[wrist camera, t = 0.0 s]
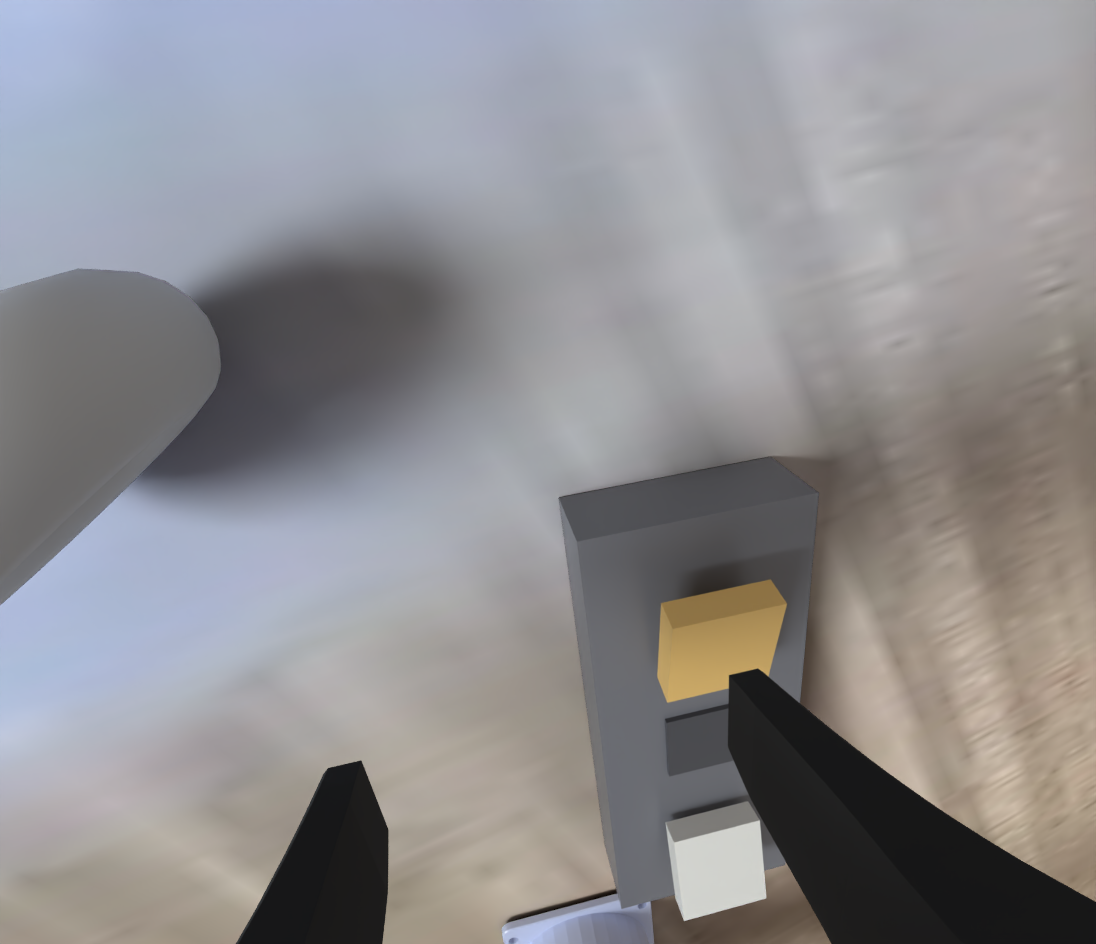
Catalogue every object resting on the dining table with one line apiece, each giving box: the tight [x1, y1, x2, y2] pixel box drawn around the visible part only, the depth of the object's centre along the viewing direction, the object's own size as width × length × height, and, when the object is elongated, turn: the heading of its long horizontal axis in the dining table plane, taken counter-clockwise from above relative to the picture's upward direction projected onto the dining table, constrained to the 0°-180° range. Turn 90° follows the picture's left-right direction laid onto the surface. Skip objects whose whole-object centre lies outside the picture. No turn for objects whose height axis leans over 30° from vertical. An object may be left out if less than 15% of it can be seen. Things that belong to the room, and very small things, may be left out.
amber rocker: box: [657, 579, 787, 703], centre depth 19 cm, size 4×4×1 cm
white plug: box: [665, 801, 766, 921], centre depth 24 cm, size 4×4×1 cm
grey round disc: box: [0, 269, 221, 605], centre depth 12 cm, size 10×4×10 cm, turn 131°
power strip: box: [559, 457, 819, 909], centre depth 24 cm, size 23×8×3 cm, turn 7°
